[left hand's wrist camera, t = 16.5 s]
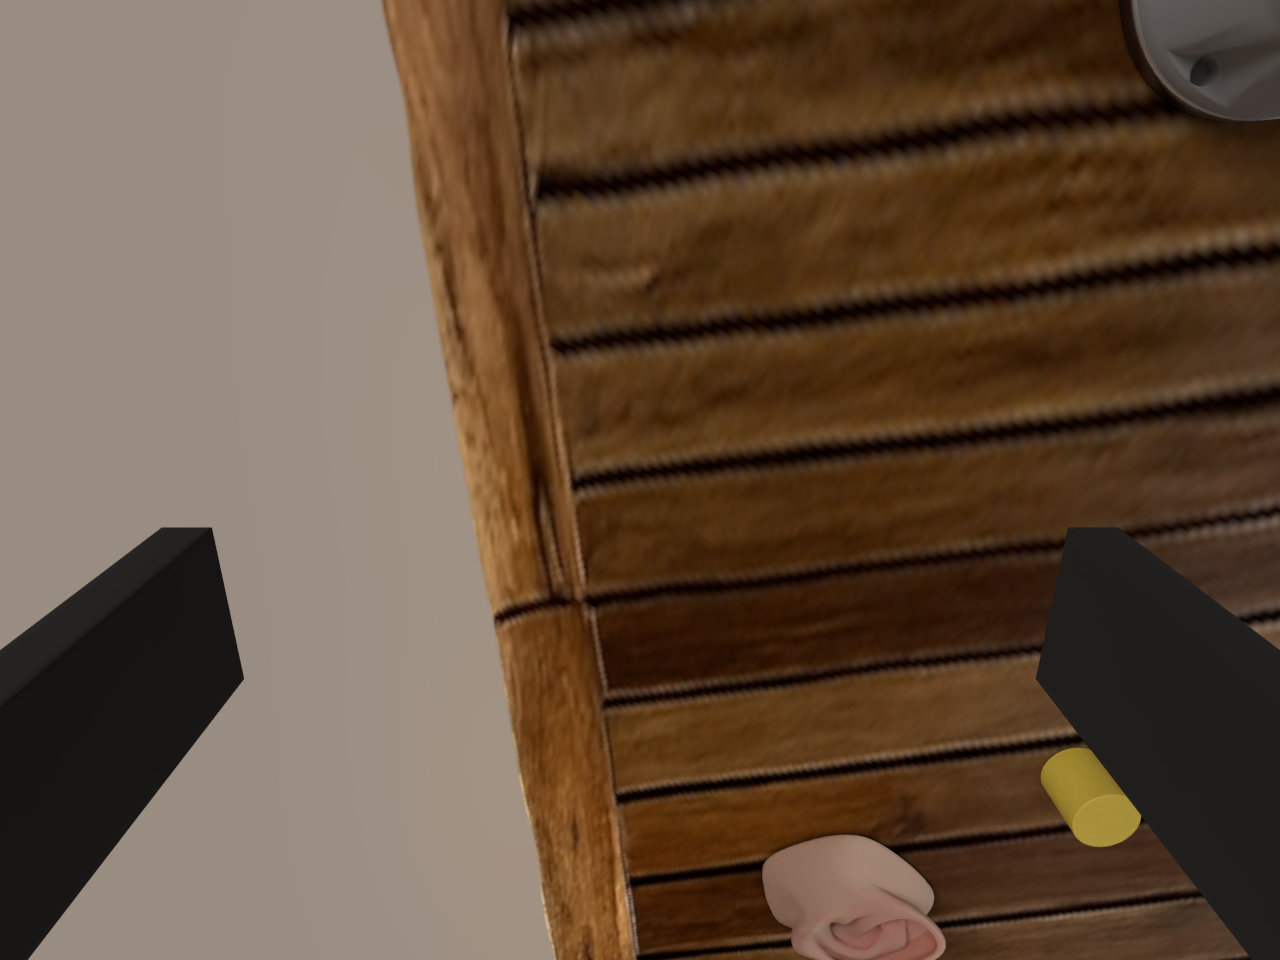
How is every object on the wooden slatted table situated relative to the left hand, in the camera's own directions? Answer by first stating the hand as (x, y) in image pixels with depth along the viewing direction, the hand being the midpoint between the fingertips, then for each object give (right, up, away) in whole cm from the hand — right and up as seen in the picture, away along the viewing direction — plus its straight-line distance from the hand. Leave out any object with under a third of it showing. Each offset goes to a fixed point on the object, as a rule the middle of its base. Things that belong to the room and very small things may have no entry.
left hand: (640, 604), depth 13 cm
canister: (+32, -20, +47) cm, 60 cm away
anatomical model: (+16, -30, +51) cm, 61 cm away
